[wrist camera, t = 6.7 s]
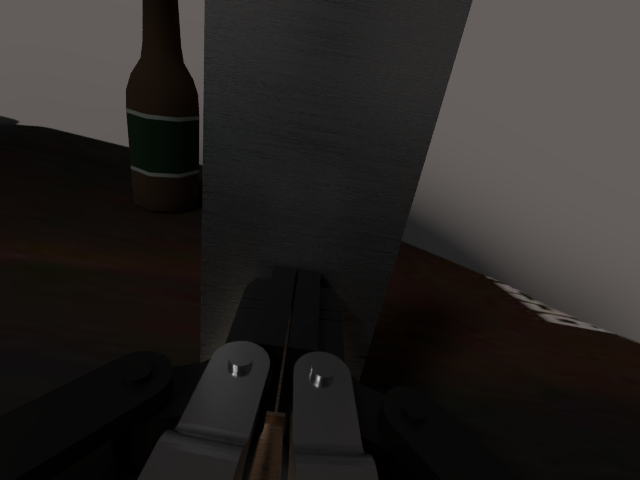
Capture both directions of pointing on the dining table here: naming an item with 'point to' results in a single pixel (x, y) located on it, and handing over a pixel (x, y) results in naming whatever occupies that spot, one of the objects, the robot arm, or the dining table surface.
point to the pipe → (269, 450)
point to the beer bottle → (163, 117)
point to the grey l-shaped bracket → (316, 147)
